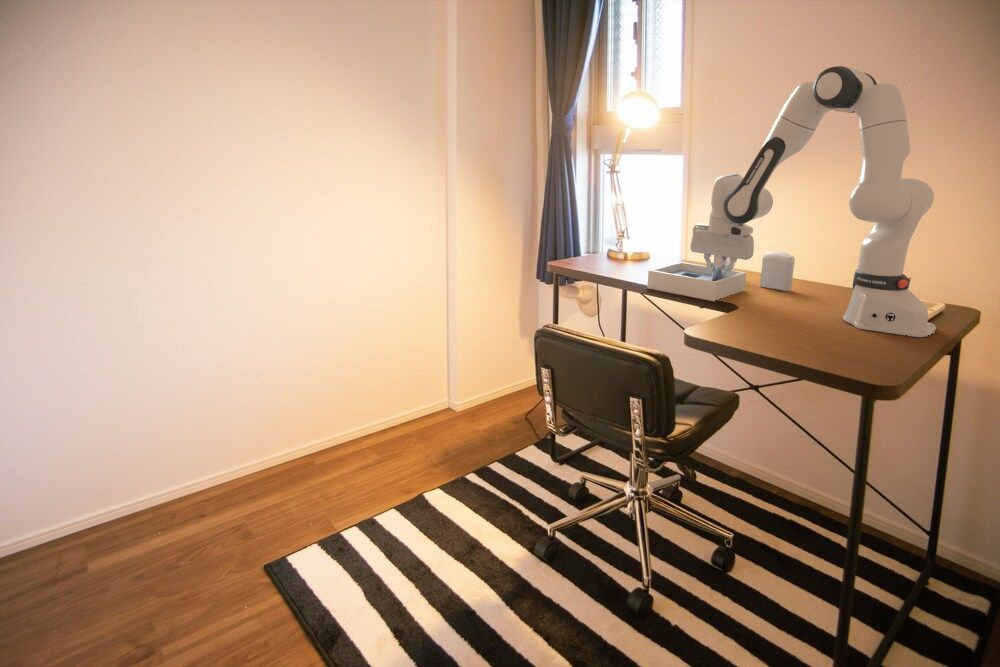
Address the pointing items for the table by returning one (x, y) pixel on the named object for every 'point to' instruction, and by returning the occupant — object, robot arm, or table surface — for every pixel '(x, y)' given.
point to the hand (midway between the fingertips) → (719, 269)
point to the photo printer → (777, 270)
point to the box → (695, 281)
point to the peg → (719, 267)
